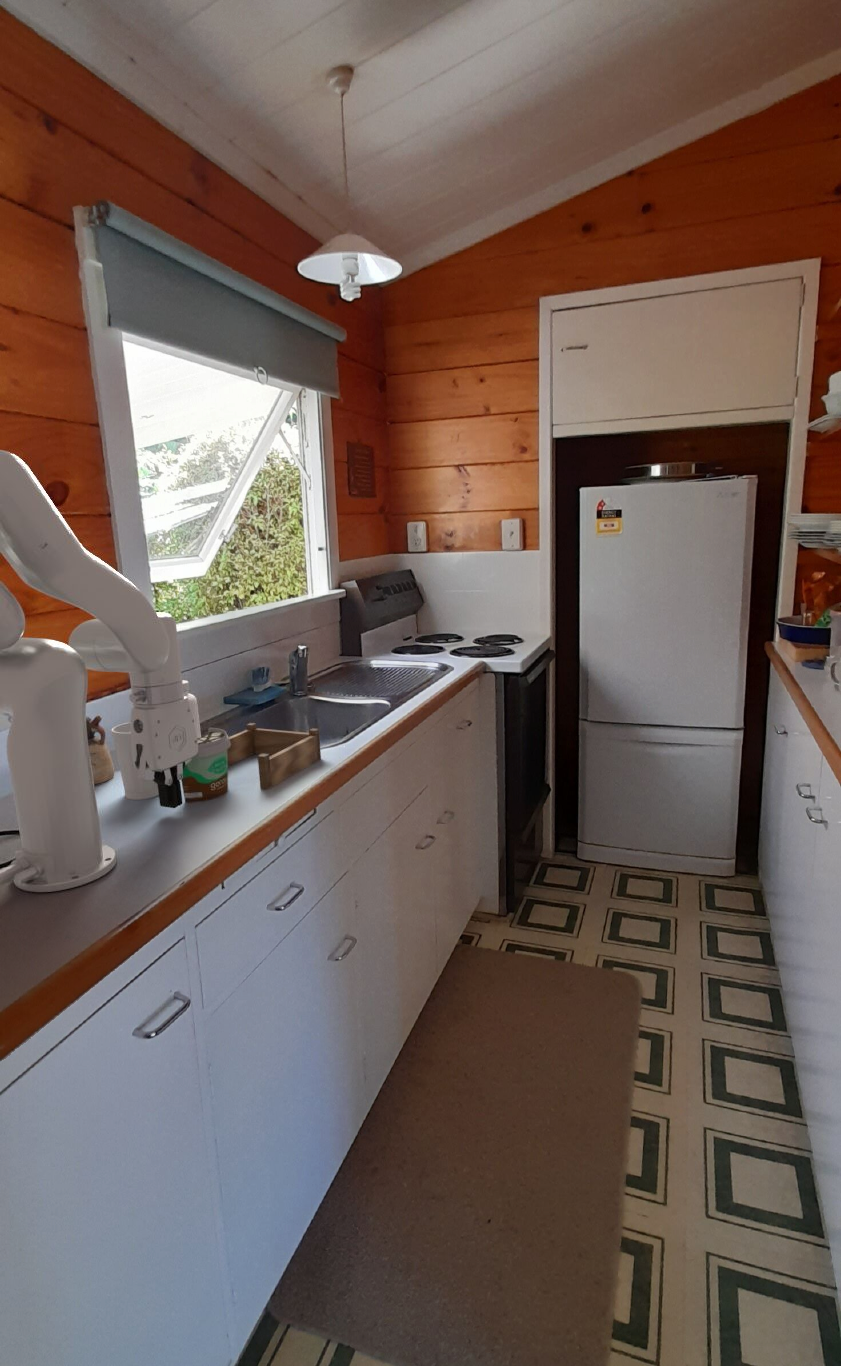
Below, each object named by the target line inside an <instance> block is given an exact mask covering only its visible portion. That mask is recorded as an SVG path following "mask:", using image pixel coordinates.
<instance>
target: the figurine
mask: <svg viewBox="0 0 841 1366" xmlns="http://www.w3.org/2000/svg"><path fill="white" fill-rule="evenodd" d="M101 720H102V717H101V716H100V715H96V716H95V717H94V718H93V720H92V718H91V717H89V716H88V715H86V728H87V738H88V746H89V753H90V759H91V766H92V773H93V781H94V785H98V784H101V783H104V782H108V781H110V780H112V779H113V778H114V775H115V768H114V767H115V766H114V763H113V759H112V757H111V754H110V752H109V748H108V746H107V744H106V743H105V742H106V732H105V731H106V730H105V728H103V726H101V725H99V724H100V723H101ZM96 733H99V735H100V737H98V736H97V735H96V736H95V734H96Z"/></svg>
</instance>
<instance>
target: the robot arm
mask: <svg viewBox="0 0 841 1366" xmlns="http://www.w3.org/2000/svg"><path fill="white" fill-rule="evenodd" d="M0 554H1V555H2V556H3V557H4V558H5V560H6V561H7V563H8V564H9V565H10V567H11V568H12V569H13V570H14V572H15V573H16V574H17V575H18V577H19V578H20V579H21V580H22V582H23V583H24V584H26V585H27V586H29V587H30V588H32V589H34V590H36V591H38V592H39V593H42V594H43V595H46V596H48V597H51V598H54V599H55V600H59V601H62V602H65V603H67V604H70V605H72V606H74V607H77V608H79V609H81V610H82V611H85V612H86V613H87V614H89V615H91V616H93V619H89V620H85V621H84V622H81V623H80V624H79V625H77V626H76V627H75V628H74V629H73V630H72V632H71V633H70V636H69V638H68V642H67V643H68V644H66V643H64V642H61V641H58V640H54V639H49V638H38V637H22V636H23V634H24V632H25V628H26V618H25V617H26V615H25V613H24V611H23V607H22V606H21V605H20V602H18V600H17V598H16V597H15V595H14V594H13V593H12V592H11V591H10V590H9V589H8V587H7V586H6V585H5V584H4V583H3V582H2V581H1V580H0V711H3V712H11V713H12V719H11V723H10V727H9V730H8V733H7V737H6V738H7V739H6V757H7V764H8V769H9V775H10V781H11V786H12V787H11V788H12V793H13V800H14V804H15V805H14V806H15V813H16V818H17V825H18V831H19V836H20V837H19V838H20V842H21V843H20V844H21V848H20V849H18V850H15V851H14V856H15V859H13V860H12V861H11V863H10V864H9V865H8V866H6V867H4V866H3V867H2V868H0V887H3V886H4V885H5V884H8V883H10V882H11V881H12V880H13V883H14V885H15V886H16V887H17V888H18V889H20V890H23V891H26V892H32V893H51V892H59V891H64V890H69V889H72V888H76V887H79V886H80V887H81V886H83V885H86V884H89V883H91V882H93V881H96V880H98V879H99V878H101V877H103V876H105V875H106V874H108V873H109V872H111V870H112V869H113V868H114V867H115V865H116V863H117V859H118V858H117V854H116V853H117V852H116V850H115V849H114V848H112V847H111V846H110V845H109V846H108V845H106V844H103V838H102V833H101V825H100V819H99V817H100V816H99V811H98V810H99V809H98V803H97V795H96V790H95V784H94V781H93V773H92V766H91V759H90V753H89V746H88V738H87V728H86V716H87V695H88V684H89V680H88V670H91V671H93V672H95V671H96V672H109V673H116V672H117V673H129V681H130V682H129V683H130V688H131V689H130V690H131V694H129V697H128V698H129V701H130V702H131V703H132V705H133V706H132V707H131V710H130V711H131V712H130V722H131V746H132V755H133V761H134V764H135V767H136V768H137V769H139V779H141V780H153V781H154V783H155V784H158V793H159V795H158V798H159V799H158V800H159V805H160V807H163V808H171V809H175V808H178V807H179V806H180V807H181V806H182V805H183V797H182V796H183V795H182V786H181V785H182V784H181V779H182V777H183V769H184V767H185V765H186V764H187V763H189V762H190V761H191V760H192V759H191V758H193V757H194V756H195V755H196V754H197V753H198V739H197V733H196V727H195V722H194V717H193V713H192V709H191V706H190V703H189V701H188V698H187V697H186V696H184V691H183V682H182V680H183V674H182V667H181V658H180V657H181V656H180V648H179V640H178V639H179V637H178V630H177V622H176V619H175V617H174V616H173V615H172V614H170V613H167V612H159V611H158V612H157V611H156V610H155V609H154V608H153V606H152V605H153V604H151V602H150V601H149V599H148V598H147V597H146V595H144V593H143V592H142V591H141V590H140V589H139V588H138V587H137V586H136V585H134V583H133V582H131V581H130V580H129V579H128V578H126V577H125V576H123V575H122V574H121V573H119V572H118V571H116V570H115V569H114V568H113V567H111V566H110V565H109V564H107V563H106V562H104V561H103V560H101V558H99V557H97V556H95V555H94V554H93V553H91V552H89V551H88V550H87V549H86V548H85V547H84V546H83V545H82V543H81V542H80V541H79V539H78V538H77V537H76V534H75V533H74V531H73V530H72V529H71V527H70V526H69V525H68V523H67V522H66V520H65V518H63V516H62V514H61V513H60V511H59V510H58V509H57V507H56V506H55V504H54V503H53V501H52V500H51V498H50V497H49V495H48V494H47V493H46V491H45V489H44V488H43V486H42V485H41V483H40V482H39V480H38V479H37V477H36V476H35V475H34V473H33V472H32V471H31V469H30V467H29V466H28V465H27V464H26V462H24V461H23V460H22V459H21V458H20V457H19V456H17V455H16V454H14V453H12V452H10V451H7V450H2V449H0ZM161 771H162V772H161Z"/></svg>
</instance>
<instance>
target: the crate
mask: <svg viewBox="0 0 841 1366" xmlns="http://www.w3.org/2000/svg"><path fill="white" fill-rule="evenodd" d="M245 727H246V729H244V730H243V731H241V732H238V733H236V734H233V735H231V736H228V737H229V740H230V743H231V746H230V747H229V748H228V749H227V764H228V767H230V766H231V765H233V764H235V763H238V762H239V761H242V760H244V759H246V758H248V757H249V756H251V755H255V754H256V755H257V754H258V755H257V762H258V775H259V776H258V777H259V786H260V789H261V790H264V791H265V790H269V789H271V788H273V787H274V786H276V785H278V784H280V783H281V782H283V781H284V780H287V779H288V778H290V777H292V776H294V775H295V774H297V773H298V772H300V771H302V770H304V769H306V768H307V767H309V766H311V765H312V764H315V761H316V762H318V761H319V760H321V759H322V754H321V739H320V729H319V728H310V729H309V730H308V732H303V731H302V732H300V731H291V730H280V729H268V728H267V729H266V728H258V727H257V723H255V722H249V723H247V724H246V725H245ZM317 760H318V761H317ZM310 764H311V765H310ZM308 765H309V766H308Z"/></svg>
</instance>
